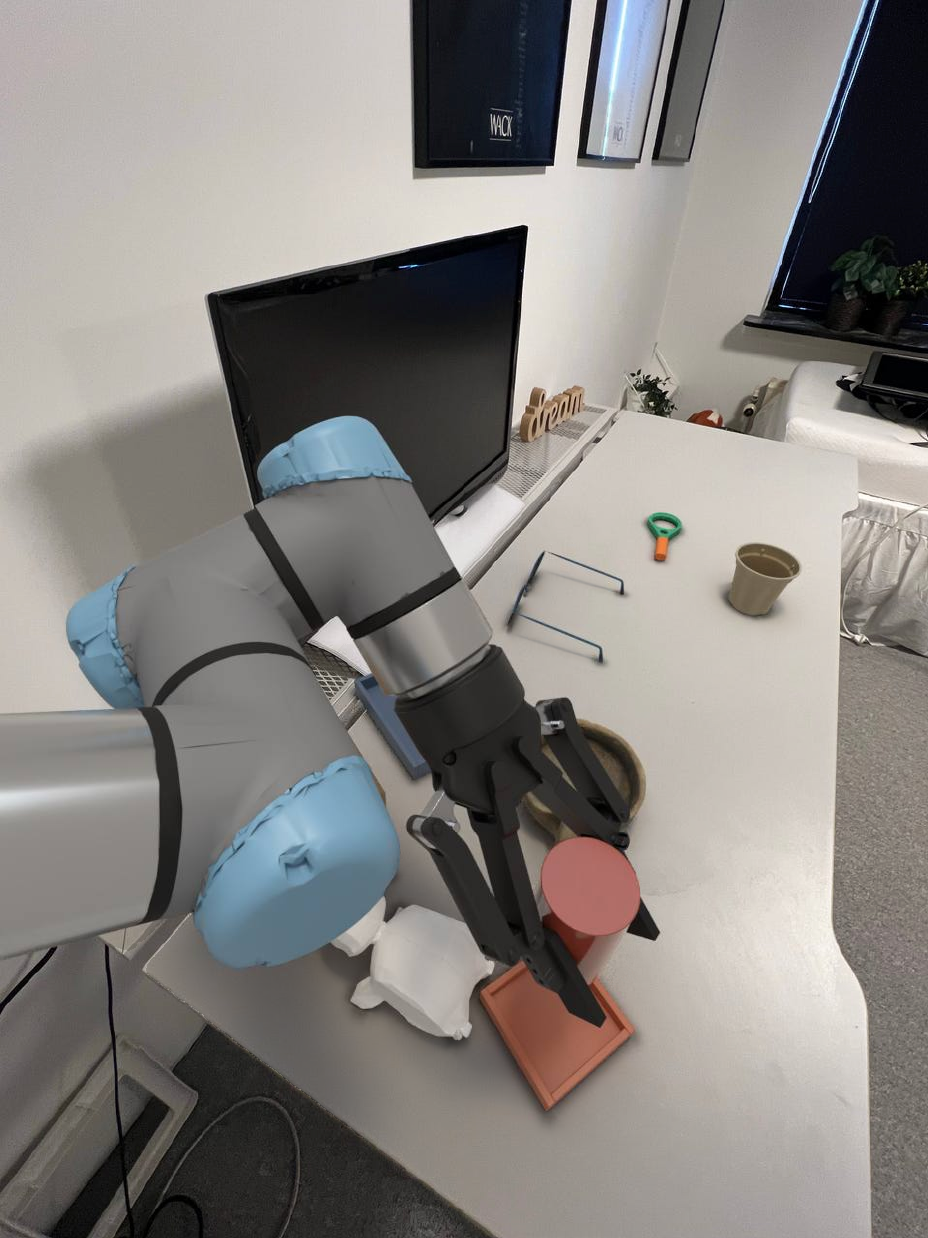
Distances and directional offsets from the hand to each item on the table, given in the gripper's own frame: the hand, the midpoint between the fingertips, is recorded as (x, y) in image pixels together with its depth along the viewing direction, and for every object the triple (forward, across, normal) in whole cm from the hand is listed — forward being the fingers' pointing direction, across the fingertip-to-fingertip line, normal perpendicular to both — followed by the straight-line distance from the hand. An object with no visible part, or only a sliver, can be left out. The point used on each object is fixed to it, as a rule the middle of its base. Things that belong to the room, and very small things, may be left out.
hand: (615, 971), depth 39 cm
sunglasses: (-11, -45, -34) cm, 58 cm away
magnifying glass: (-11, -75, -34) cm, 83 cm away
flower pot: (+2, -68, -21) cm, 71 cm away
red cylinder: (-1, 0, -4) cm, 4 cm away
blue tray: (-12, -17, -35) cm, 41 cm away
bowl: (+3, -17, -20) cm, 27 cm away
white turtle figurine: (+2, +6, -21) cm, 22 cm away
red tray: (+10, 0, -13) cm, 16 cm away
